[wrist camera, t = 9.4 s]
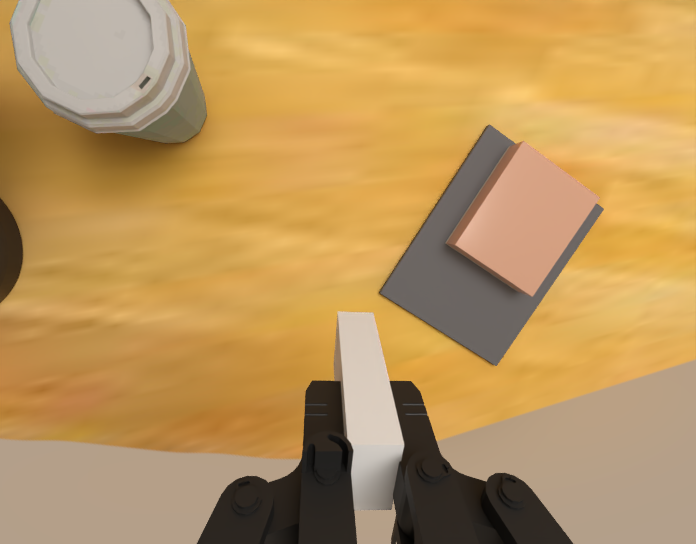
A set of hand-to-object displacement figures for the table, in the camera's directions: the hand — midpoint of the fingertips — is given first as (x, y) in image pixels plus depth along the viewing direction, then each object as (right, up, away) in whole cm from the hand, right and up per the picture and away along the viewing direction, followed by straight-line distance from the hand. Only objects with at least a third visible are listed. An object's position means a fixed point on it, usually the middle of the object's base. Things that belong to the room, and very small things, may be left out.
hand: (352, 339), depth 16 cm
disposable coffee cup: (-17, +19, +21) cm, 33 cm away
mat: (+16, +5, +26) cm, 31 cm away
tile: (+15, +3, +24) cm, 28 cm away
